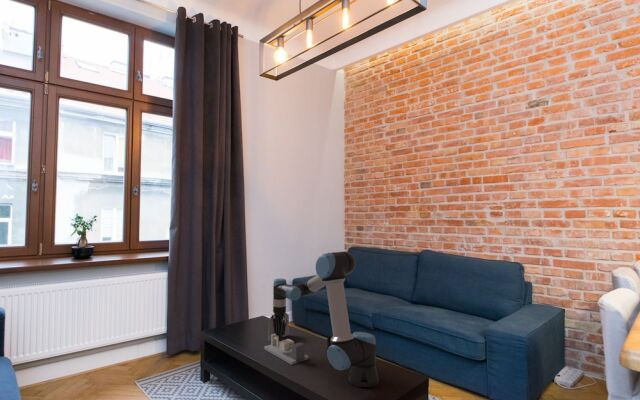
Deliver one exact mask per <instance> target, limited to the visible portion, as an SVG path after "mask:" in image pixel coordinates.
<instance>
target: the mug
mask: <svg viewBox="0 0 640 400" xmlns="http://www.w3.org/2000/svg"><path fill="white" fill-rule="evenodd" d="M332 337H333V336H331V337H328V338H327V339H326V351H327V350H328V348H329V347H330V346H331V340H330V339H331V338H332Z"/></svg>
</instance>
